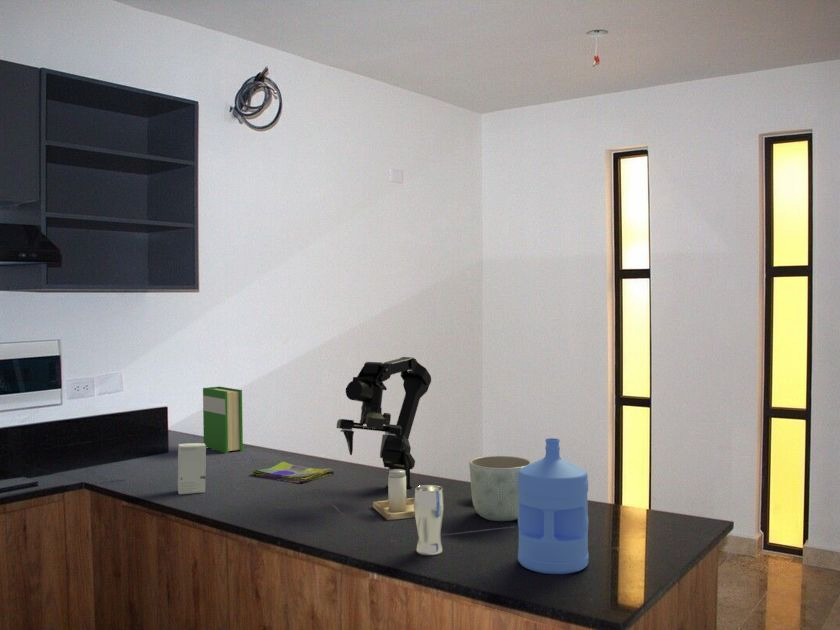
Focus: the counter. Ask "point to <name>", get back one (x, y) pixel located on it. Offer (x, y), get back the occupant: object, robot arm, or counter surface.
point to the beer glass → (429, 518)
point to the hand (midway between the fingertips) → (366, 456)
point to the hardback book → (222, 419)
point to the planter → (496, 486)
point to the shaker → (397, 490)
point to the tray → (384, 511)
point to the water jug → (553, 514)
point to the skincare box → (191, 468)
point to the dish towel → (292, 473)
